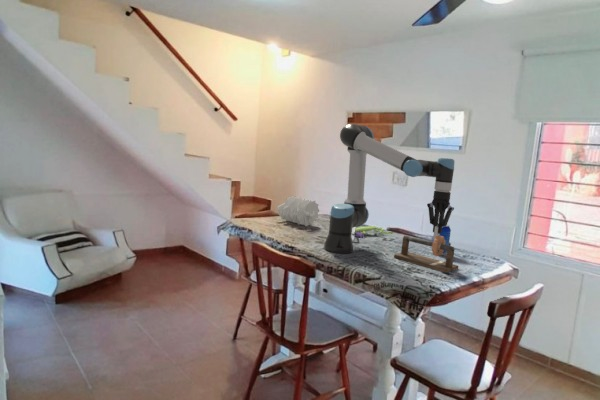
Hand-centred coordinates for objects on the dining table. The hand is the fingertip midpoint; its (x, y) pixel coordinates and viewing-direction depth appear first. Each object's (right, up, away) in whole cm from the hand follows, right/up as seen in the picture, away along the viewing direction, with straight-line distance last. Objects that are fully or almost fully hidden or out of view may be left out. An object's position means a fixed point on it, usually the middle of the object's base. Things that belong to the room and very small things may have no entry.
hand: (436, 239), depth 206 cm
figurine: (-23, -3, +60) cm, 64 cm away
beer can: (+10, -10, +27) cm, 31 cm away
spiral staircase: (-67, +3, +77) cm, 102 cm away
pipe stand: (-4, -12, +4) cm, 13 cm away
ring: (+1, -7, 0) cm, 7 cm away
